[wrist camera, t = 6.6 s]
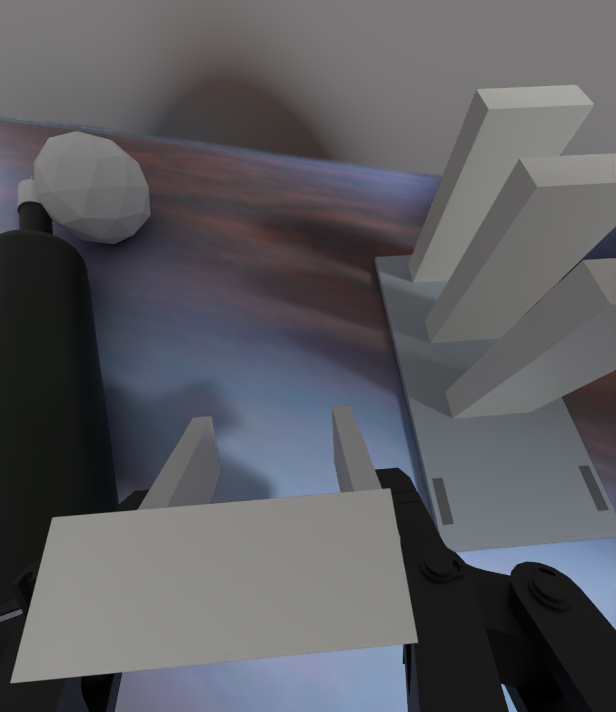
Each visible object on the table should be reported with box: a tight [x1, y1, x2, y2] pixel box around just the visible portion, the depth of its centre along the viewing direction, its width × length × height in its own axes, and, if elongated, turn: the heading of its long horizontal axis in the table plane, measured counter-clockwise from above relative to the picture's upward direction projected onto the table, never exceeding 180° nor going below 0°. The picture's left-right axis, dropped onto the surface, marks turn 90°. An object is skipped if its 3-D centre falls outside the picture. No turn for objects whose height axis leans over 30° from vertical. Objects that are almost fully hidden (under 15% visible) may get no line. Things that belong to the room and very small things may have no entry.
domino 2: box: [408, 85, 594, 283], centre depth 21 cm, size 5×2×12 cm, turn 94°
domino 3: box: [425, 153, 616, 343], centre depth 18 cm, size 5×2×12 cm, turn 94°
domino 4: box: [445, 258, 616, 419], centre depth 16 cm, size 5×2×12 cm, turn 95°
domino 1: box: [10, 488, 418, 683], centre depth 10 cm, size 5×2×12 cm, turn 95°
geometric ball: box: [33, 131, 151, 244], centre depth 26 cm, size 8×8×8 cm
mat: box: [374, 255, 616, 552], centre depth 22 cm, size 10×21×1 cm, turn 4°
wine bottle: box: [0, 177, 119, 616], centre depth 21 cm, size 6×6×30 cm
